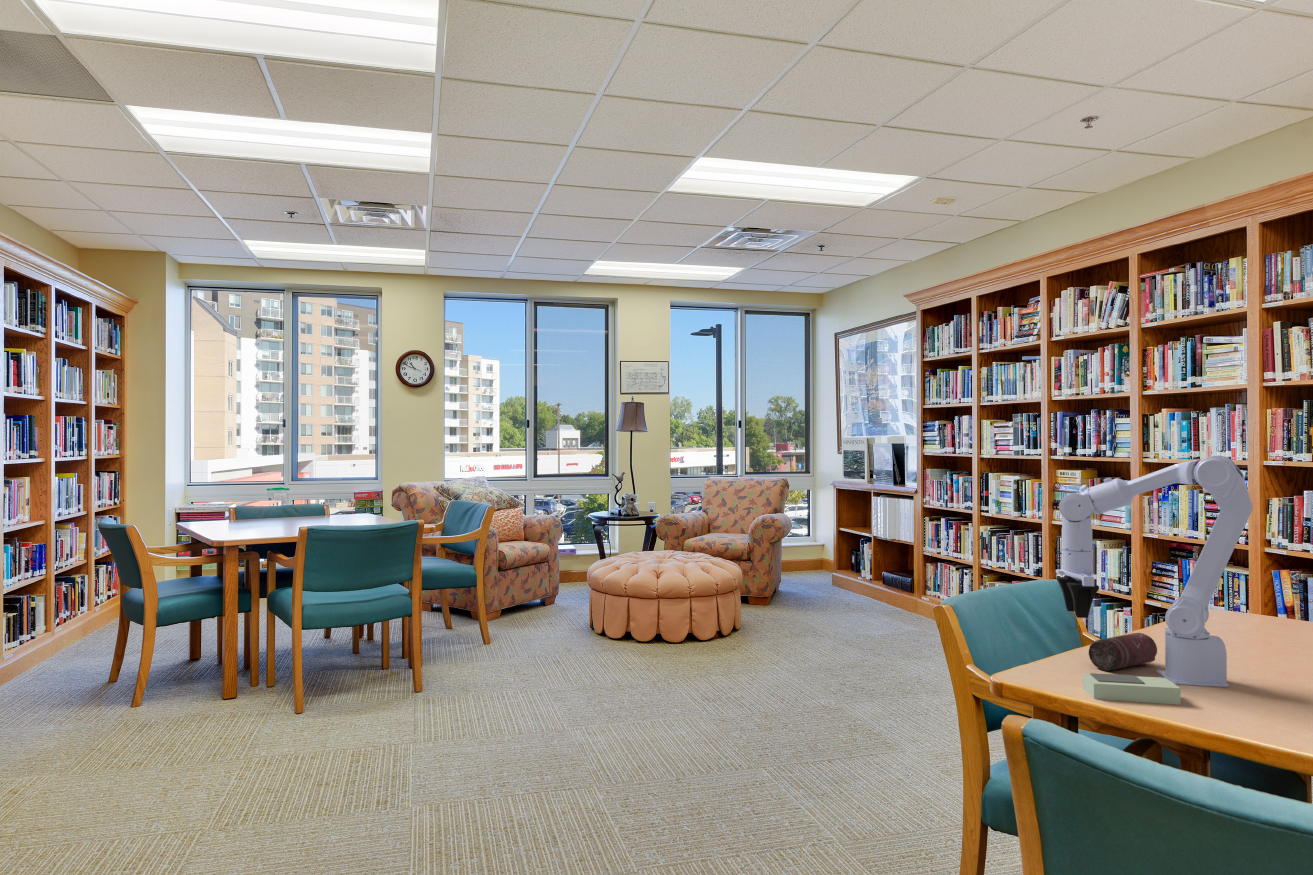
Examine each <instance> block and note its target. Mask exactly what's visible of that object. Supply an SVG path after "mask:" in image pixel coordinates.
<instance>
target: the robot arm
mask: <svg viewBox="0 0 1313 875" xmlns="http://www.w3.org/2000/svg"><path fill="white" fill-rule="evenodd" d="M1173 484H1180V485H1181V484H1182V485H1191V486H1193V485H1195V484H1198V485H1199V486H1200V487H1202V489H1204V490H1205V491H1206V492H1208V493H1209V494H1210V495H1211V497H1212V498H1213V500H1214V501H1215V503H1216V505H1217V507H1218V508H1219V510H1220V511H1219V512H1218V515H1217V517H1216V519H1215V521H1214V524H1213V526H1212V528H1211V531H1210V532H1209V534H1208V536H1207V539H1206V541H1205V544H1204V546H1203V548H1202V550H1201V552H1200V554H1199V556H1198V558H1197V560H1196V561H1195V562H1196V563H1195V565H1194V567H1193V569H1192V572H1191V574H1190V576H1189V578H1188V580H1187V582H1186V585H1185V586H1184V588H1183V591H1182V592H1181V594H1180V597H1178V598H1176V599H1175V600H1173V602H1172V603H1171V605H1170V607H1169V608H1168V609H1167V610H1166V612H1165V616H1164V620H1165V624H1166V625H1167V628H1166V627H1165V629H1164V631H1165V632H1164V641H1165V642H1164V643H1165V644H1164V651H1165V653H1164V654H1165V655H1164V656H1165V657H1164V659H1165V660H1164V662H1165V663H1164V664H1165V665H1164V666H1165V667H1164V668H1165V670H1164V669H1157V670H1156V673H1157V674H1159V675H1160V676H1161V677H1162V678H1167V679H1168V680H1169V681H1171V682H1172V683H1174V684H1175V685H1177V686H1178V685H1179V686H1180V685H1181V686H1198V687H1220V688H1229V685H1230V684H1229V683H1228V682H1227V680H1228V677H1227V676H1228V670H1227V668H1228V667H1227V666H1228V664H1227V663H1228V661H1227V660H1228V659H1227V658H1228V656H1227V648H1226V645H1225V643H1224V640H1223V639H1222V638H1221V637H1220V636H1217V635H1211V633H1210V631H1208V630H1207V629H1206V628H1205V626H1206V623H1207V621H1208V620H1209V617H1210V616H1209V604H1210V601H1211V599H1212V597H1213V595H1214V593H1215V590H1216V588H1217V586H1218V583H1219V582H1220V580H1221V578H1222V576H1223V573H1224V572H1225V570H1226V568H1227V565H1228V562H1229V560H1230V559H1231V556H1232V554H1233V552H1234V550H1235V548H1236V546H1237V544H1238V541H1239V540H1240V537H1241V535H1242V533H1243V531H1244V528H1245V527H1246V524H1247V523H1248V520H1249V518H1250V516H1251V514H1252V512H1253V508H1254V506H1253V502H1252V500H1251V499H1252V498H1251V496H1250V493H1249V490H1248V486H1247V483H1246V479H1245V476H1244V472H1242V470H1241V469H1240V468H1239V467H1238V465H1237V464H1236V463H1235V462H1234V461H1233V460H1232V459H1230V458H1229V457H1227V456H1222V455H1210V456H1209V457H1205V458H1202V459H1201V458H1200V459H1194V460H1190V461H1185V462H1184V461H1183V462H1180V463H1175V464H1173V465H1170V466H1167V467H1164V468H1162V469H1159V470H1157V471H1152V472H1150V473H1148V474H1145V475H1142V476H1139V477H1137V478H1134V479H1131V480H1129V481H1127V480H1124V479H1121V478H1119V477H1116V478H1114V479H1112V477H1107V478H1104V479H1103V482H1102V483H1100V484H1095V485H1094V486H1090V487H1086V486H1082V487H1081V488H1079V490H1080V492H1071V493H1070V492H1069V493H1068V494H1067V495H1065V496H1063V497H1062V498H1061V499H1060V501H1059V502H1058V503H1059V504H1058V510H1059V512H1060V514H1061V516H1062V519H1061V523H1062V524H1061V526H1062V527H1061V566H1060V567H1061V568H1060V569H1058V568H1057V569H1055V574H1058V575H1064V576H1057V577H1056V578H1055V579H1056V581H1057V583H1058V584H1059V587H1060V589H1061V592H1062V595H1063V600H1064V604H1065V608H1066V611H1067V612H1074V615H1075V617H1076V618H1078V619H1079V618H1081V619H1088V618H1089V616H1090V615H1089V614H1090V611H1091V607H1092V604H1093V600H1094V598H1095V596H1096V594H1097V593H1098V592H1099V589H1100V586H1099V585H1097V584H1095V577H1094V575H1095V573H1094V569H1093V568H1094V567H1093V561H1094V560H1093V559H1094V558H1093V528H1092V525H1093V524H1092V523H1093V522H1092V516H1093V515H1094V514H1095V515H1101V514H1103V513H1106V512H1110V511H1113V510H1117V509H1119V508H1123V507H1125V506H1129V505H1130V504H1131V503H1132V501H1133V499H1134V497H1135V496H1138V495H1141V494H1144V493H1147V492H1148V493H1149V492H1150V491H1155V490H1157V489H1160V488H1164V487H1167V486H1171V485H1173Z"/></svg>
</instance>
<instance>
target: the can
mask: <svg viewBox="0 0 1313 875" xmlns="http://www.w3.org/2000/svg"><path fill="white" fill-rule="evenodd" d="M1157 654H1158V646H1157V643H1156V642H1155V640H1154V639H1153V638H1152V637H1151V636H1150V635H1147V634H1145V633H1141V632H1133V633H1129V634H1122V635H1118V636H1111V637H1107V638H1101V639H1097V640H1094V641H1093V642H1091V643H1090V646H1089V648H1088V656H1089V660H1090V661H1091V663H1092V664H1093V665H1094V666H1095V668H1097V669H1099V670H1101V671H1105V672H1108V671H1109V672H1110V671H1115V670H1119V669H1124V668H1127V667H1128V668H1129V667H1133V666H1138V665H1143V664H1149V663H1152V662H1155V661H1156V657H1157Z"/></svg>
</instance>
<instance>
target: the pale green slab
mask: <svg viewBox="0 0 1313 875" xmlns="http://www.w3.org/2000/svg"><path fill="white" fill-rule="evenodd" d="M1082 690H1084V691H1085V693H1087V694H1088V695H1089V696H1090V697H1091V698H1093V699H1094V700H1104V699H1105V700H1104V701H1106V700H1108V701H1119V700H1121V701H1122V700H1123V702H1134V703H1136V702H1137V703H1150V704H1151V703H1152V704H1165V705H1182V704H1181V702H1182V700H1181V696H1182V694H1181V693H1182V692H1181V690H1182V689H1181V687H1179V686H1178V684H1174V683H1172V682H1171V681H1169V680H1168V679H1167V678H1164V677H1158V676H1157V677H1155V676H1153V677H1152V676H1140V675H1139V676H1136V675H1131V674H1113V673H1094V672H1091V673H1090V672H1089V673H1082ZM1135 701H1136V702H1135Z"/></svg>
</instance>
